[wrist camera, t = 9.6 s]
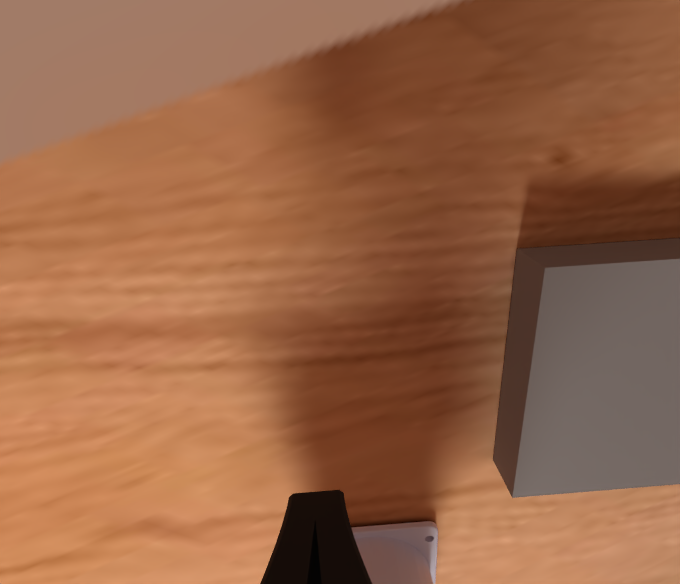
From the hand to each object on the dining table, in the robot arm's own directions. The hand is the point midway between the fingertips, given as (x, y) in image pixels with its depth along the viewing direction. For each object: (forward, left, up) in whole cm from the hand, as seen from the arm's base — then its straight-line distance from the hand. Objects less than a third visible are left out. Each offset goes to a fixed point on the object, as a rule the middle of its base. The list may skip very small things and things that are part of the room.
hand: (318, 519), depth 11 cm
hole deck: (-2, -16, -9) cm, 19 cm away
